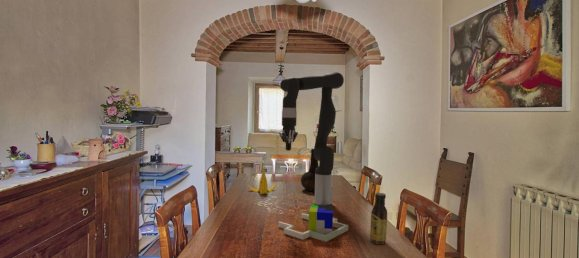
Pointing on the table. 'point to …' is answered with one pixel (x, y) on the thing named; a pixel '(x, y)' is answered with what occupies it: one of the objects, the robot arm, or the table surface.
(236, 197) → the table surface
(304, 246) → the table surface
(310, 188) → the glass bottle
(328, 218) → the puzzle toy
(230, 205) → the table surface
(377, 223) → the sauce bottle
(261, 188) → the banana peel
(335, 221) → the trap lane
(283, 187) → the table surface
